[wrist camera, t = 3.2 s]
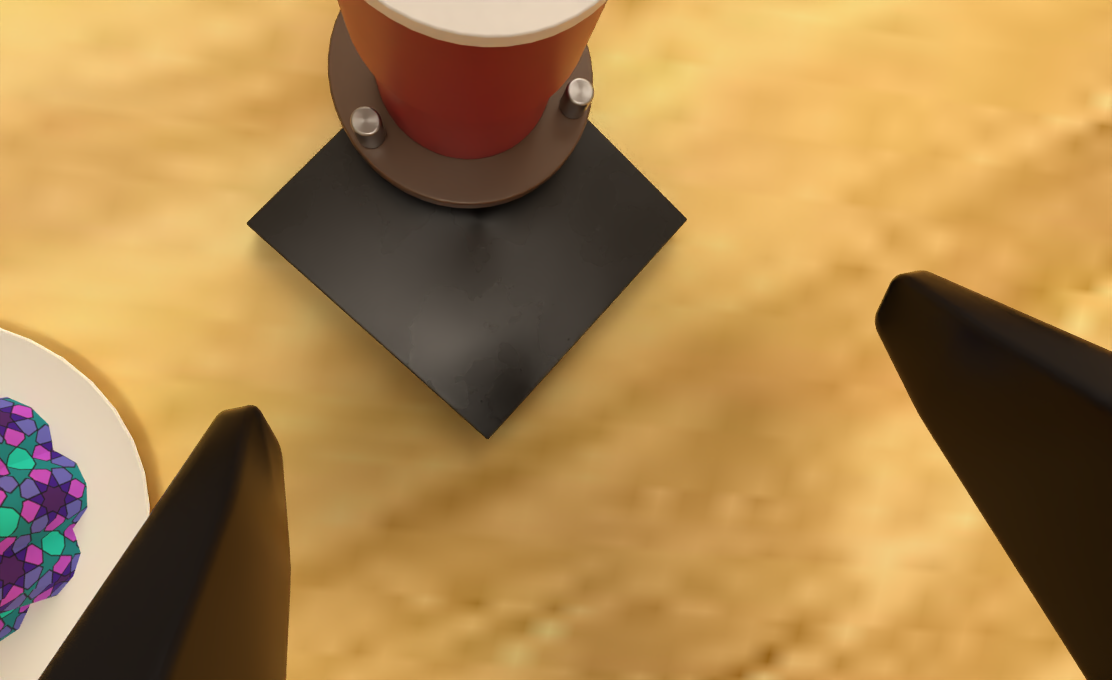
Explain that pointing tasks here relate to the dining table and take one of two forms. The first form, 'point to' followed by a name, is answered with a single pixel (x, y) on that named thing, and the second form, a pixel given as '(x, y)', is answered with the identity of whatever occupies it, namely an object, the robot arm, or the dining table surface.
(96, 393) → the pudding
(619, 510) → the dining table surface
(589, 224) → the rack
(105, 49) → the dining table surface
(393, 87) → the red cup with lid
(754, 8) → the dining table surface
